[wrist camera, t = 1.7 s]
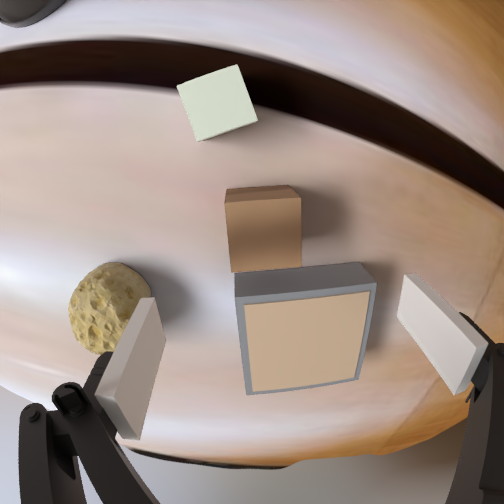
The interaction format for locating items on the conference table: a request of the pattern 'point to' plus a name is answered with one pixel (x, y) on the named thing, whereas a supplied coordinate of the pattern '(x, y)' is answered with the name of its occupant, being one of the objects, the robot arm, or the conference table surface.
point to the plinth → (303, 325)
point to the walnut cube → (263, 228)
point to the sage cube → (217, 103)
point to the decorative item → (105, 305)
